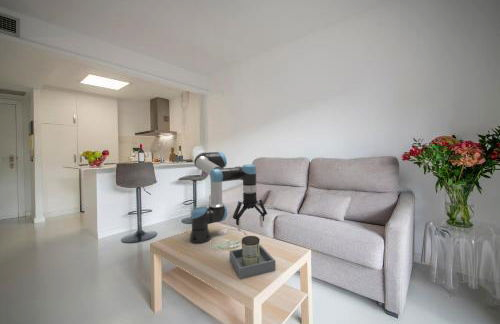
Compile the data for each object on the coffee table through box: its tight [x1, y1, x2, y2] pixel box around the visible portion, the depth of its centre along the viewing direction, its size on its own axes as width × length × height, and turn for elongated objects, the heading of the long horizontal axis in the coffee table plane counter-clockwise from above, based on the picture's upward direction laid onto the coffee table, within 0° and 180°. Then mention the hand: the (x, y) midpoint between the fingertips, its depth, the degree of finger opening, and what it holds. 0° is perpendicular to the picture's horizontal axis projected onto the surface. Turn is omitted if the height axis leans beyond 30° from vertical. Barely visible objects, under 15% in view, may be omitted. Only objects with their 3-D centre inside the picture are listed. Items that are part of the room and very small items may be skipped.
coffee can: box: [241, 235, 261, 266], centre depth 122 cm, size 10×10×14 cm
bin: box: [229, 244, 276, 280], centre depth 122 cm, size 20×20×6 cm
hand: (250, 228), depth 121 cm, fingers open, 13 cm apart
